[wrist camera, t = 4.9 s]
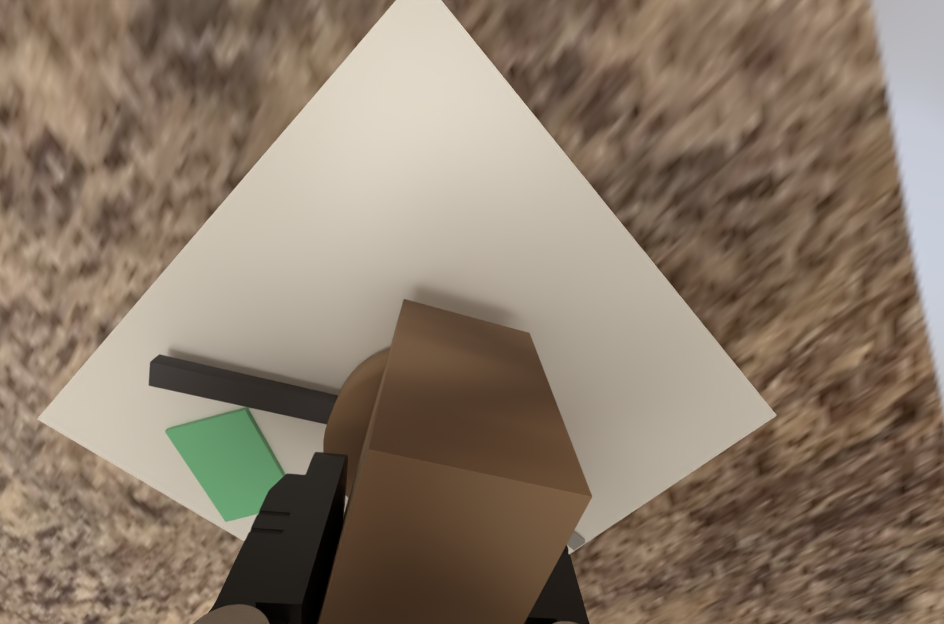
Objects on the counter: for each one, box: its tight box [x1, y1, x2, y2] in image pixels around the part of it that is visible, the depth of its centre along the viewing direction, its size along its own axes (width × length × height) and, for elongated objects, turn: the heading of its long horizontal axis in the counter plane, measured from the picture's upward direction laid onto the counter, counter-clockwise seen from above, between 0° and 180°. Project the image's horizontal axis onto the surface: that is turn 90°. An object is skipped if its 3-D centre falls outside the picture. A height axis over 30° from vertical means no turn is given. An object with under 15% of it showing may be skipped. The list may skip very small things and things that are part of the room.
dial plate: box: [38, 0, 777, 554], centre depth 14 cm, size 15×15×2 cm
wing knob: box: [149, 299, 592, 624], centre depth 10 cm, size 10×8×6 cm
